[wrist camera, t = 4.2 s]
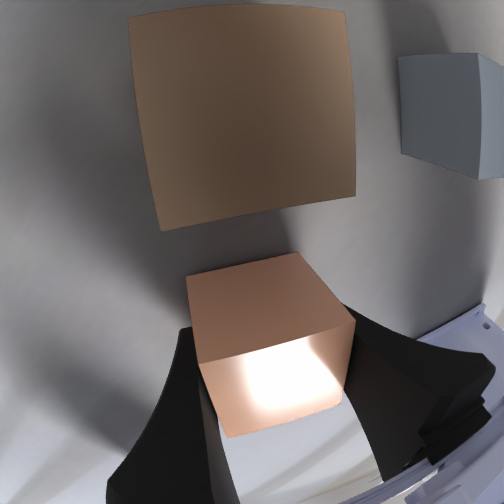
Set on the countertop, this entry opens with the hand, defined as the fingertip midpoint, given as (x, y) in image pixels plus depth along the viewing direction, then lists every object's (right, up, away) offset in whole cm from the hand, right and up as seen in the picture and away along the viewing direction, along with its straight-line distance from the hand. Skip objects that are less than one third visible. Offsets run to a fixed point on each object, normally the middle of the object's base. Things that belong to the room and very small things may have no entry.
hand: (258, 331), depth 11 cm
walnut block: (-1, +8, -2) cm, 8 cm away
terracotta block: (0, +1, +1) cm, 1 cm away
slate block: (+8, +10, 0) cm, 13 cm away
